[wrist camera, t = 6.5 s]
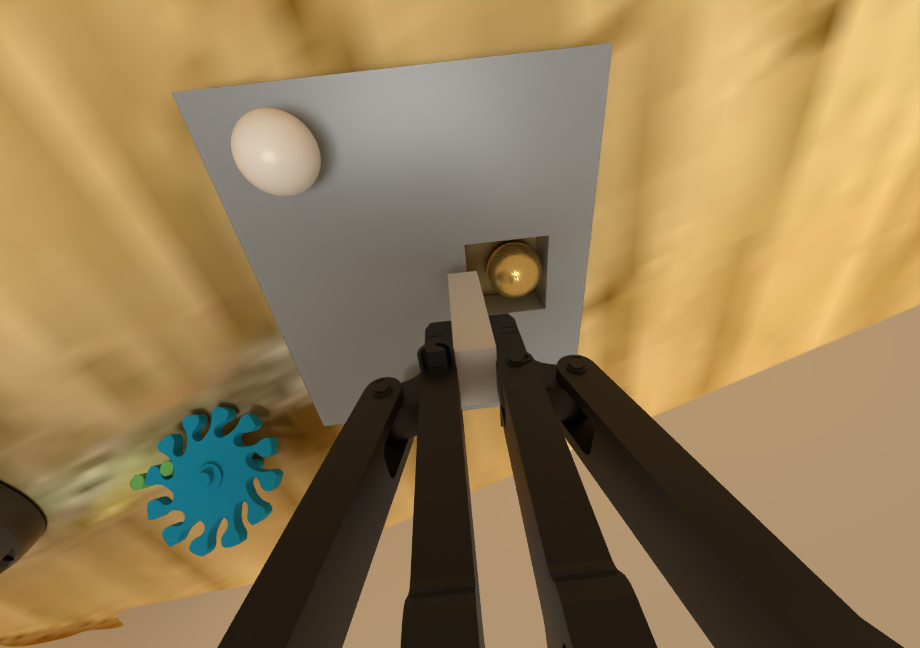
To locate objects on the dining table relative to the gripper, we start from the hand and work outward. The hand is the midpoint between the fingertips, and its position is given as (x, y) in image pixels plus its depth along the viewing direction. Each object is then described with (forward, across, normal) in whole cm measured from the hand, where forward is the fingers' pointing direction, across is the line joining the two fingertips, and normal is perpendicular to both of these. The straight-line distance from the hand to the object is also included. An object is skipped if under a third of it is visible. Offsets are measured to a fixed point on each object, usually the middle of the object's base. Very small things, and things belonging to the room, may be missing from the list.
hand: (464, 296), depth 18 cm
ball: (+2, -3, 0) cm, 4 cm away
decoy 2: (0, +7, -8) cm, 10 cm away
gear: (+4, +20, +13) cm, 24 cm away
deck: (+4, +2, 0) cm, 4 cm away
